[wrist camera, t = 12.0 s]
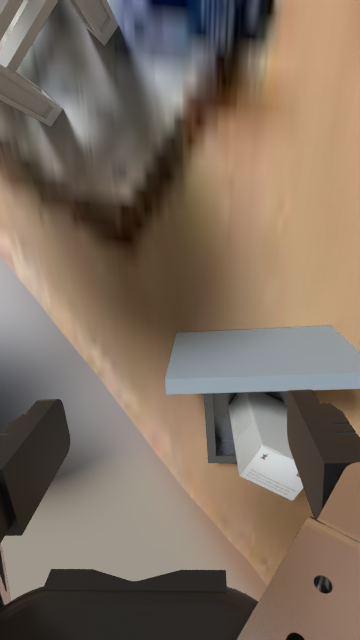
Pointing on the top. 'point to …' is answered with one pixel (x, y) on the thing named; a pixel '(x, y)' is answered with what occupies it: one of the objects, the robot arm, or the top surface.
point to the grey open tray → (224, 425)
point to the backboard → (262, 361)
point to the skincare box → (264, 443)
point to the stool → (3, 78)
